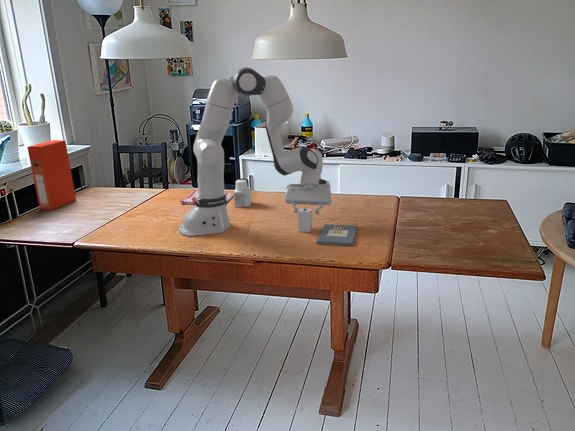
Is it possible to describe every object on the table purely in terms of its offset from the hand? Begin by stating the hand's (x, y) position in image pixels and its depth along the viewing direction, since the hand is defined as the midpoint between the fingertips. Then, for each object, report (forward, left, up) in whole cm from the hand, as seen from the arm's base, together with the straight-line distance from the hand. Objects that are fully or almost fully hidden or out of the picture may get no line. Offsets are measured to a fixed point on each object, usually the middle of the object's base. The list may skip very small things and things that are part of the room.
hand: (306, 212), depth 216 cm
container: (-10, +46, -7) cm, 48 cm away
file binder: (-92, +98, -7) cm, 135 cm away
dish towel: (-23, +63, -8) cm, 68 cm away
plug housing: (-1, -2, -7) cm, 7 cm away
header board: (+7, -15, -7) cm, 18 cm away
